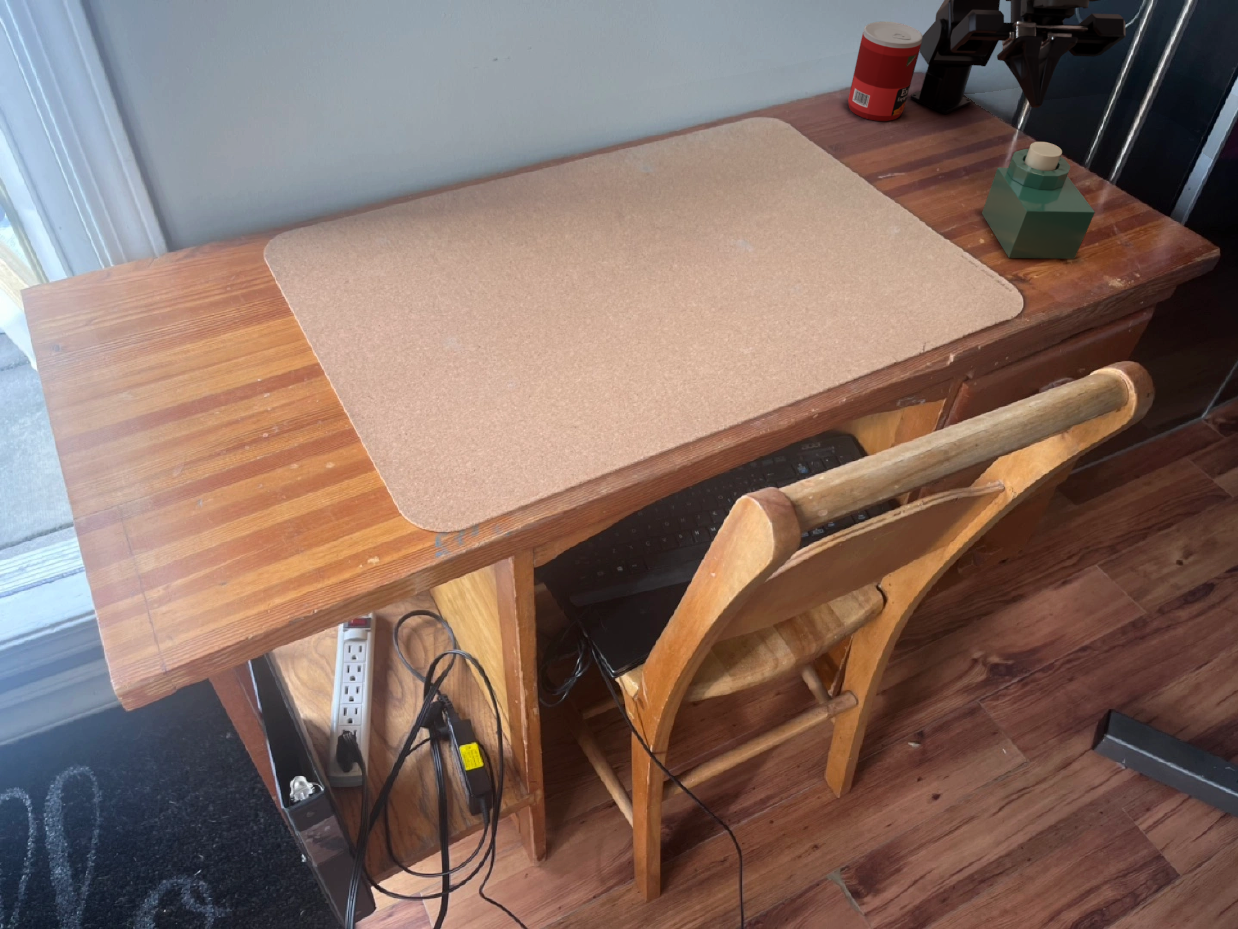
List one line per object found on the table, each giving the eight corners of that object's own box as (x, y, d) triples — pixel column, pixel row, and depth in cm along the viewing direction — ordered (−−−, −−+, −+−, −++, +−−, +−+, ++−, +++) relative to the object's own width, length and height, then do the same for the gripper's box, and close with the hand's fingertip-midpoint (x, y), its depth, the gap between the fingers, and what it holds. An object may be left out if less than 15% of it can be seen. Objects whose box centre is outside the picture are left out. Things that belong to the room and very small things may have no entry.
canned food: (902, 125, 138) (923, 46, 130) (845, 117, 139) (863, 38, 131) (902, 102, 143) (922, 25, 136) (847, 94, 144) (864, 17, 136)
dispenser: (978, 208, 122) (998, 147, 117) (1040, 209, 123) (1063, 149, 117) (1008, 258, 114) (1032, 196, 109) (1074, 259, 115) (1101, 197, 109)
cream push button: (1019, 157, 116) (1025, 141, 115) (1049, 157, 116) (1055, 141, 115) (1030, 172, 114) (1036, 155, 112) (1060, 172, 114) (1067, 156, 112)
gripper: (990, -67, 107) (990, 77, 107) (1155, -61, 108) (1155, 82, 108) (948, -17, 118) (948, 113, 118) (1098, -12, 119) (1098, 117, 119)
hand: (1036, 106), depth 115 cm, fingers closed
